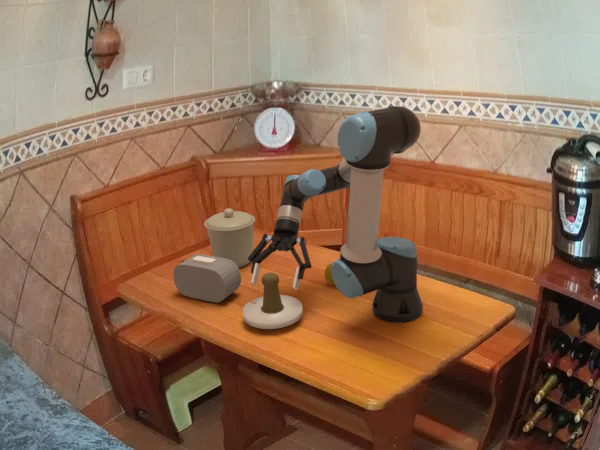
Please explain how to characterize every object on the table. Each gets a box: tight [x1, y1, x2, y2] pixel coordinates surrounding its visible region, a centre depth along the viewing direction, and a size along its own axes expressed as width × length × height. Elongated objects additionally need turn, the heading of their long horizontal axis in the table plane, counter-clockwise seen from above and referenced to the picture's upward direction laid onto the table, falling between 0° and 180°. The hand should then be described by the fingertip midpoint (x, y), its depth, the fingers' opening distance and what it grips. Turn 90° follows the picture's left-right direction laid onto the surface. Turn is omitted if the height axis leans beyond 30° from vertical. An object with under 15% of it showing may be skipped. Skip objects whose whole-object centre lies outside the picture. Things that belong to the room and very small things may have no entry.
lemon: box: [324, 262, 336, 286], centre depth 225 cm, size 6×6×8 cm
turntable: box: [242, 294, 304, 330], centre depth 205 cm, size 18×18×2 cm
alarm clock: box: [173, 253, 242, 304], centre depth 222 cm, size 21×10×13 cm, turn 61°
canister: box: [203, 207, 256, 269], centre depth 244 cm, size 18×18×21 cm
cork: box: [261, 272, 283, 312], centre depth 202 cm, size 6×6×11 cm
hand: (274, 286), depth 206 cm, fingers open, 13 cm apart
